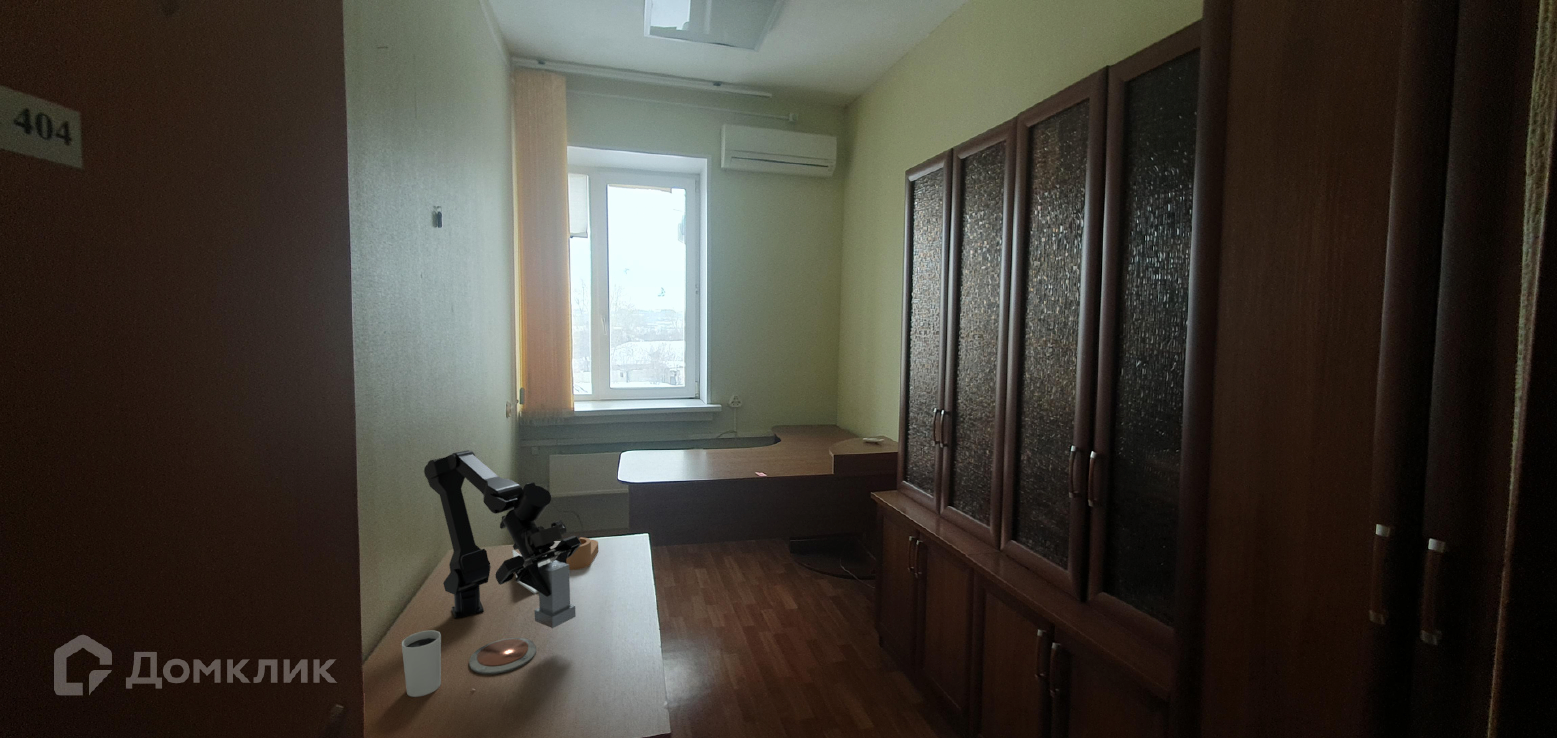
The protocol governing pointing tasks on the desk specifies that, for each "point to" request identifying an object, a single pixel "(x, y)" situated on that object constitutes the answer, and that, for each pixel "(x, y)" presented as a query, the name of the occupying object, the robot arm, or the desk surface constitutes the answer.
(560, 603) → the grey stepped block
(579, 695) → the desk surface
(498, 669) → the copper centred dish
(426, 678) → the white cup
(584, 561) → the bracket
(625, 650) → the desk surface
